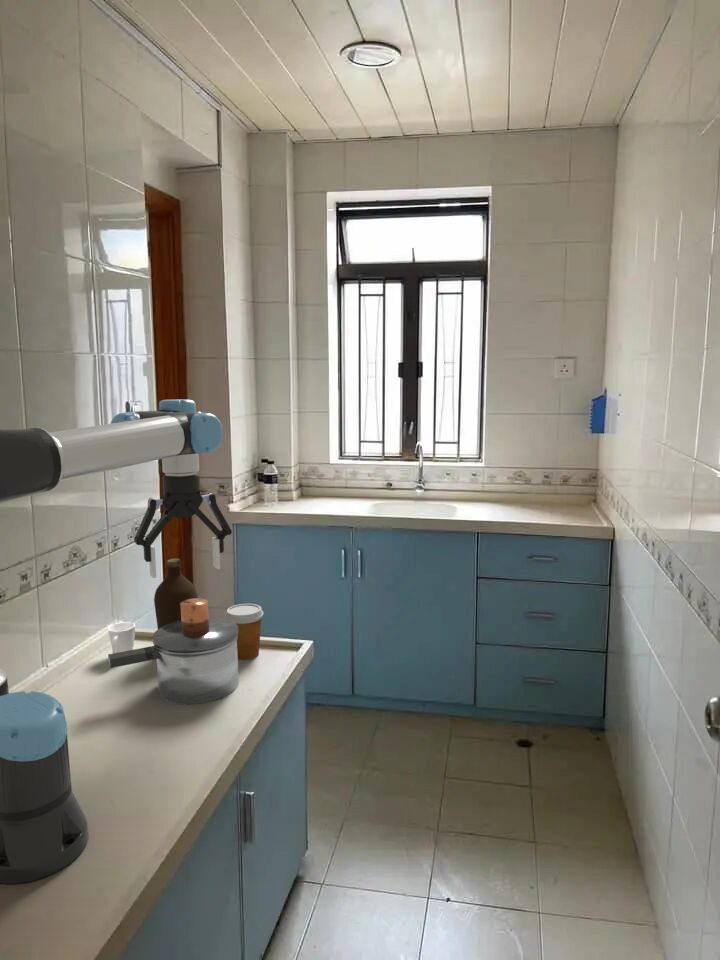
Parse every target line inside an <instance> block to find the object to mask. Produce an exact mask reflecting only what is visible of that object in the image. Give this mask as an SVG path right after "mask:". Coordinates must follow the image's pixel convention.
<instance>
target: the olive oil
mask: <svg viewBox="0 0 720 960" xmlns="http://www.w3.org/2000/svg"><path fill="white" fill-rule="evenodd" d="M166 564H167V565H166V570H167V575H166V576H165V578H164V579H163V580H162V581H161V582H160V584H159V585H157V588H156V589H155V592H154V597H153V601H154V602H153V603H154V610H155V611H154V612H155V618H156V626H157V630H158V629H159V628H161V627H163V626H165V625H167V624H170V623H173V622H176V621H180V620H181V605H180V603H181V602H182V601H184V600H187V599H193V598H199V597H198V591H197V589H196V587H195V585H194V584H193V583H192V582H191V581H190V580H189V579H188V578H186V577H185V576H184V575H183V574H182V566H181V559H180V558H170V559H168V560H166Z"/></svg>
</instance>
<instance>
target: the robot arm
mask: <svg viewBox="0 0 720 960" xmlns="http://www.w3.org/2000/svg"><path fill="white" fill-rule="evenodd" d="M196 405H197V404H196V402H195V401H194V400H192V399H182V398H181V399H176V398H175V399H162V400H159V402H158V410H140V411H138V410H137V411H136V410H135V411H131V410H129V411H127V412H120V413H117V414H116V415H114V416H113V418H112V419H111V421H110V423H106V424H99V425H94V426H86V427H79V428H73V429H66V430H65V429H64V430H58V431H52V432H50V431H48V430H46V429H44V428H41V427H30V428H22V429H19V428H18V429H12V428H11V429H9V428H0V504H1V503H5V502H9V501H12V500H13V501H14V500H17V499H20V498H21V499H22V498H24V497H29V496H32V495H36V494H41V493H44V492H49V491H52V490H54V489H56V488H57V487H58V486H59V484H60V482H63V481H67V480H73V479H77V478H81V477H85V476H89V475H95V474H99V473H103V472H108V471H113V470H117V469H123V468H126V467H131V466H135V465H139V464H145V463H150V462H154V461H157V460H158V461H159V460H161V463H162V464H161V469H162V472H163V473H164V474H163V475H162V491H163V492H162V493H163V497H162V498H161V499H160V498H153V497H149V498H148V500H147V509H146V511H145V513H144V516H143V517H142V520H141V522H140V525H139V527H138V529H137V531H136V533H135V536H134V538H133V542H134V543H135V544H136V545H137V546H142V548H143V559H144V561H145V562H146V563H149V575H150V577H151V578H152V579H155V578H157V564H156V548H155V546H154V545H153V543H154V542H155V541H156V539H157V538H158V536H159V535H160V534H161V533H162V532H163V530H164V528H165V527H166V526H167V524H169V522H171V520H172V519H173V518H176V519H182V518H192V517H193V516H194V515H195V516H196V517H197V518H198V520H200V521H201V522H202V523H203V524H204V525H205V526H206V527H207V528H208V529H209V530H210V532H211V533H213V534H214V535H215V536H214V537H212V538H211V540H212V541H211V542H212V544H211V545H212V564H213V565H212V566H213V568H215V569H216V570H220V569H221V556H220V555H221V554H220V553H222V554H223V553H224V552H225V548H224V547H225V545H224V543H225V542H224V539H225V538H226V536H230V535H232V533H233V531H232V529H231V527H230V526H229V524H228V522H227V520H226V518H225V516H224V515H223V513H222V511H221V509H220V508H219V505H218V503H217V497H216V495H215V494H213V493H211V492H208V493H207V494H204V495H202V494H201V479H200V474H199V473H198V472H199V471H200V458H199V455H203V454H211V453H214V452H215V451H216V450H217V449H219V447H220V445H221V444H222V441H223V437H224V436H223V426H222V423H221V421H220V419H219V418H218V416H216V415H214V414H213V413H209V412H208V413H207V412H201V411H197V406H196ZM203 502H204V503H205V504H206V505H208V507H209V509H210V510H211V512H212V514H213V516H214V518H215V519H216V521H217V522H218V524H219V526H220V527H221V530H220V529H219V528H218V527H217V526H216V525H215V524H214V523H213V522H212V521H211V520H210V519H209V517H207V515H206V514H204V512H203V511H202V510H201V509H200V506H201V505H202V503H203ZM161 505H162V506H163V508H164V509H165V510H164V511H163V512H162V515H161V517H160V518H159V519H158V521H157V522H156V523H155V524H154V526H153V527H152V529H151V530H150V531H149V532H148V530H149V527H150V525H151V523H152V521H153V518H154V516H155V513H156V510H159V508H160V507H161ZM146 534H147V535H146ZM9 690H10V689H9V684H8V675H7V672H6V671H5V670H4V669H1V668H0V883H1V884H7V885H8V884H11V885H12V884H23V883H28V882H33V881H37V880H39V879H43V878H45V877H48V876H51V875H52V874H54V873H57V872H59V871H60V870H62V869H64V868H65V867H66V866H68V865H69V864H71V863H72V862H74V861H75V860H76V859H77V858H78V857H79V856H80V855H81V854H82V852H83V851H84V849H86V847H87V844H88V841H89V827H88V821H87V817H86V815H85V814H84V812H83V810H82V808H81V805H80V804H79V801H78V799H77V798H76V795H75V794H74V792H73V789H72V788H73V787H72V778H71V765H70V764H71V763H70V755H69V754H70V753H69V741H68V729H69V728H68V724H67V720H66V717H65V711H64V707H63V705H62V703H61V702H60V701H59V700H58V699H56V697H54V696H52V695H50V694H48V693H45V692H40V691H30V692H26V691H24V690H23V691H16V692H11V693H10V692H9Z"/></svg>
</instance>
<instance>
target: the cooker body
mask: <svg viewBox="0 0 720 960" xmlns="http://www.w3.org/2000/svg"><path fill="white" fill-rule="evenodd" d="M237 638H238V636H237V637H236V639H235V640H233V641H232V642H230V643H228V644H227V645H224V646H222V647H219V648H216V649H212V650H207V651H202V652H193V653H175V652H168V651H164V650H161V649H159V648H157V647H156V646H154V645H152V646H147V647H141V648H135V649H134V648H133V650H129V651H124V652H119V653H113V652H112V653H110V654H107V655H108V656H107V659H108V665H109V668H110V669H114V668H118V667H123V666H128V665H134V664H140V663H144V662H149V661H153V660H154V661H155V660H156V671H157V673H156V674H157V685H158V694H159V695H160V697H161V698H162V699H163V700H165V701H167V702H170V703H174V704H179V705H196V704H197V705H198V704H205V703H209V702H213V701H218V700H220V699H222V698H225V697H226V696H228V695H230V694H232V693H234V691H235V690H236V689H237V688H238V686H239V684H240V679H239V678H240V677H239V661H238V660H239V659H238V655H237Z"/></svg>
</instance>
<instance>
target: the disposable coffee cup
mask: <svg viewBox="0 0 720 960" xmlns="http://www.w3.org/2000/svg"><path fill="white" fill-rule="evenodd" d="M224 616H225V619H226V620H230V621H232V622H234V623H235V624H237V626H238V638H237V655H238V660H250V659H253V658H256V657H257V656H259V654H260V643H261V642H260V641H261V640H260V639H261V631H262V630H261V629H262V618H263V616H264V610H263V609H262V607H261V605H258V604H255V603H241V604H239V603H238V604H236V605H232V606H230V607H228V608H227V610H226V612H225V615H224Z"/></svg>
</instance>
